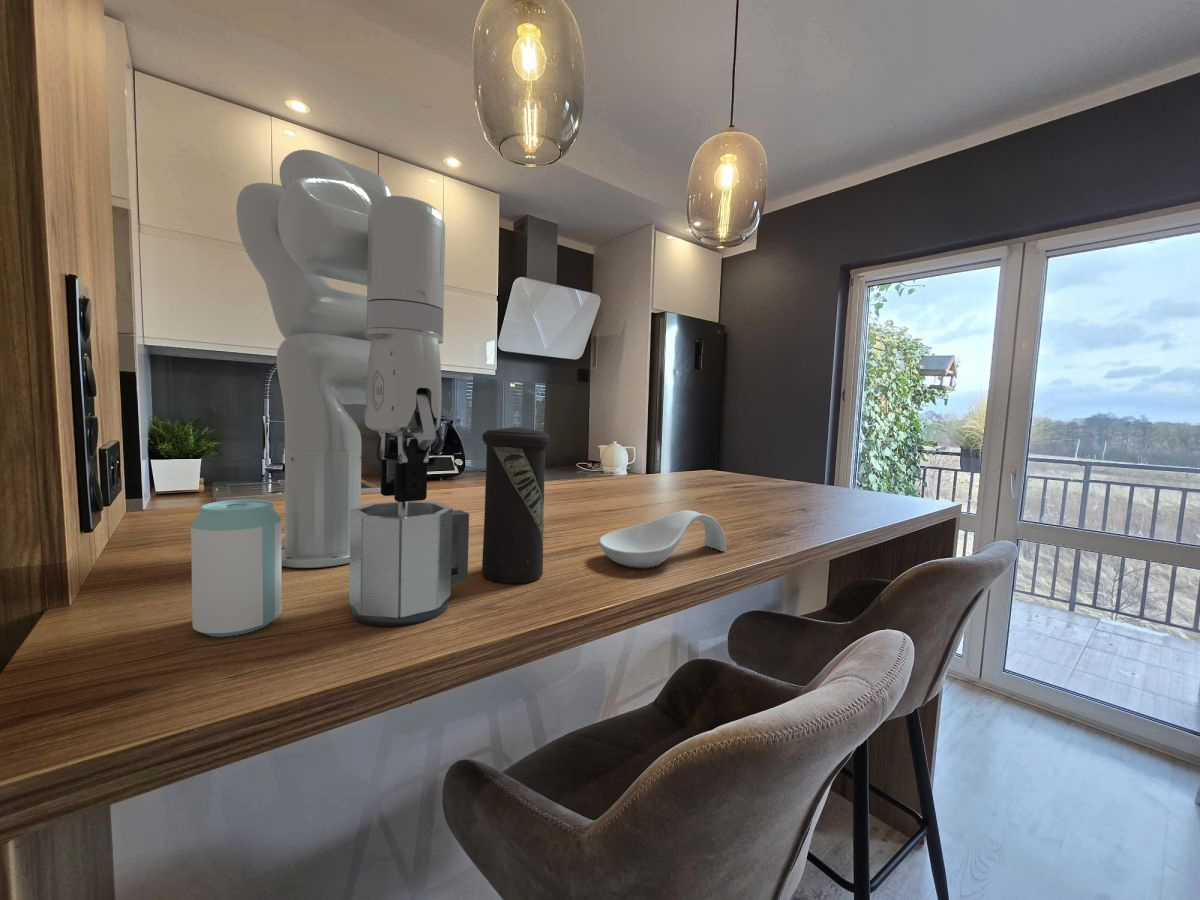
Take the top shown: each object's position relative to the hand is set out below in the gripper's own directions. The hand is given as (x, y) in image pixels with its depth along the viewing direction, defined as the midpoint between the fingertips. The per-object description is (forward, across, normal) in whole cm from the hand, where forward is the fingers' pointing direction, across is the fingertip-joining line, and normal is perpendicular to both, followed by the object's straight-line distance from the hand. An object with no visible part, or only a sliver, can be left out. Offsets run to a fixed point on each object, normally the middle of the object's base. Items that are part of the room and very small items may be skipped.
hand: (403, 496), depth 53 cm
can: (+13, -5, -14) cm, 20 cm away
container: (+13, -3, +16) cm, 21 cm away
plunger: (+9, 0, 0) cm, 9 cm away
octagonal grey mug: (+12, 0, +1) cm, 12 cm away
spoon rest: (+13, +3, +40) cm, 43 cm away
